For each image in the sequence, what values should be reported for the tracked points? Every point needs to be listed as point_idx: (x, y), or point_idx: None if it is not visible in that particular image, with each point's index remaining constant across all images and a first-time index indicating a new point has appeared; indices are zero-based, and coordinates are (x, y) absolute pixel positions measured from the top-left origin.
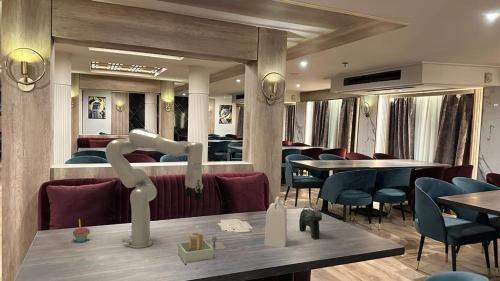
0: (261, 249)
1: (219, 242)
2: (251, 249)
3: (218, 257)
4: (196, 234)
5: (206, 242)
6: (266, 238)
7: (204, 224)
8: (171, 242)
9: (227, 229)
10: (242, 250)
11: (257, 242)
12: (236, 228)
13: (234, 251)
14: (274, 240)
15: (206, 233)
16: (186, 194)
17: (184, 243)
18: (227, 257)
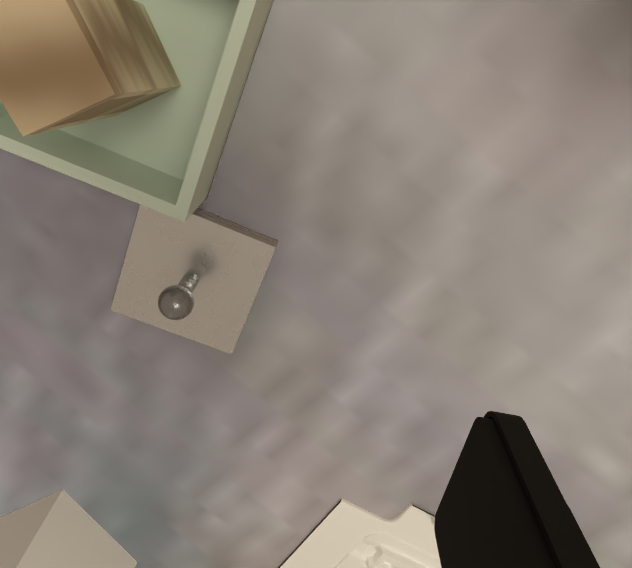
0: (16, 439)
1: (220, 344)
2: (47, 407)
3: (49, 187)
4: (48, 71)
5: (116, 188)
6: (34, 527)
7: (588, 512)
8: (524, 135)
9: (395, 530)
10: (63, 365)
11: (117, 494)
12: (364, 565)
13: (77, 325)
14: (2, 536)
15: (452, 418)
16: (503, 451)
17: (229, 34)
18: (17, 228)
